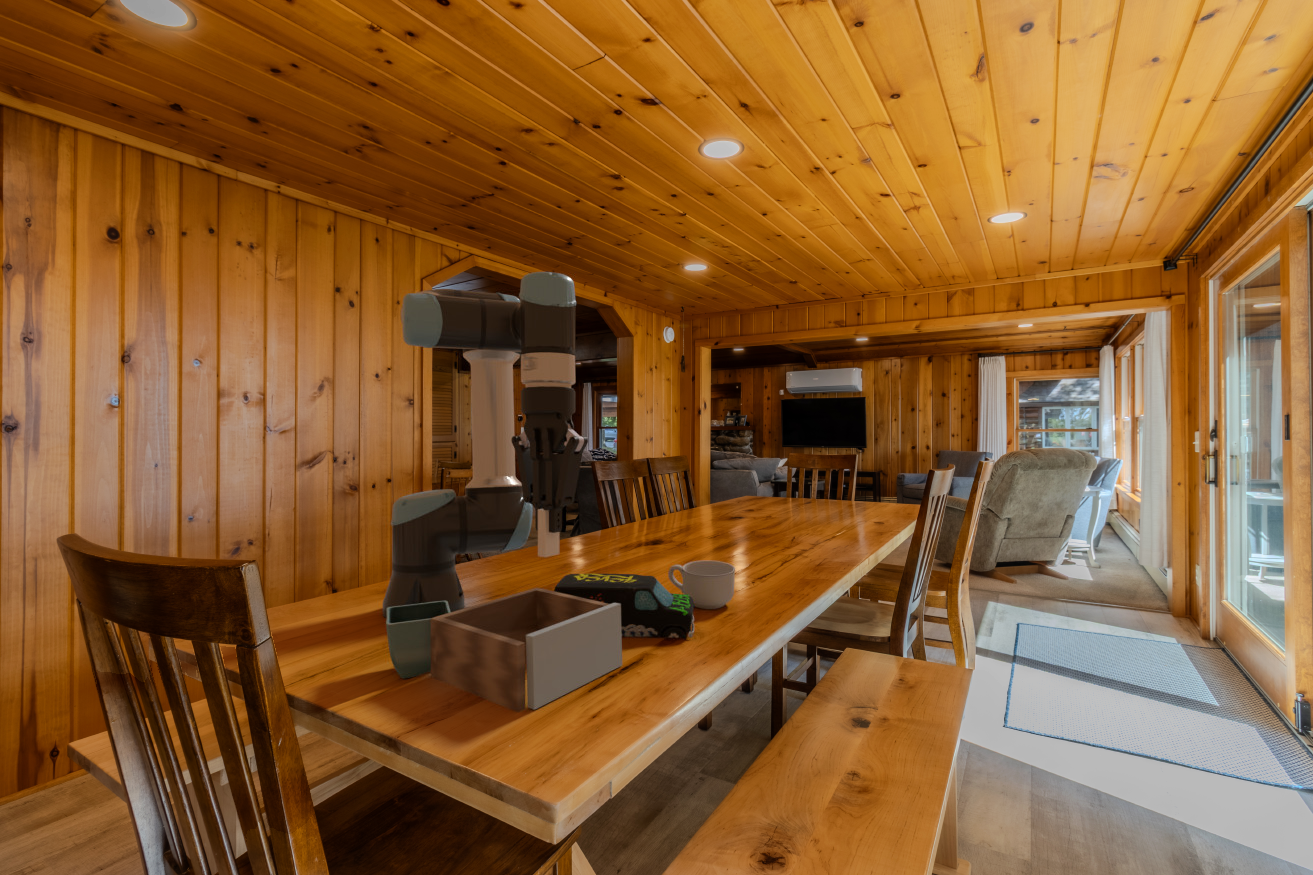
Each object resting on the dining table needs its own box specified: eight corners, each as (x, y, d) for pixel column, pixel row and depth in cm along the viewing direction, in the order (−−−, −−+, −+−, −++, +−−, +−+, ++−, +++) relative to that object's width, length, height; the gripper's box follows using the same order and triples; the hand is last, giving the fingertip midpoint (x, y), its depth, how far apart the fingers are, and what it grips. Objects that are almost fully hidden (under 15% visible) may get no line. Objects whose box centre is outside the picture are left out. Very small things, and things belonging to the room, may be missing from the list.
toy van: (694, 648, 100) (694, 587, 100) (546, 644, 102) (546, 585, 101) (694, 626, 111) (694, 572, 110) (560, 624, 112) (560, 570, 112)
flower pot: (386, 687, 84) (385, 623, 84) (386, 664, 92) (386, 606, 92) (452, 677, 88) (452, 615, 88) (447, 656, 96) (447, 599, 96)
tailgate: (527, 707, 75) (525, 635, 76) (615, 663, 89) (614, 602, 89) (534, 709, 75) (532, 636, 75) (622, 665, 89) (620, 603, 89)
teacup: (743, 602, 125) (743, 564, 125) (720, 616, 116) (720, 575, 116) (685, 592, 133) (685, 556, 133) (658, 604, 124) (658, 565, 124)
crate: (430, 685, 85) (430, 618, 85) (537, 644, 101) (537, 587, 101) (518, 722, 74) (517, 645, 74) (620, 669, 91) (621, 606, 91)
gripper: (496, 387, 85) (496, 553, 86) (562, 382, 78) (563, 565, 78) (535, 389, 92) (536, 545, 92) (601, 386, 84) (601, 556, 84)
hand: (548, 554), depth 85 cm, fingers closed
